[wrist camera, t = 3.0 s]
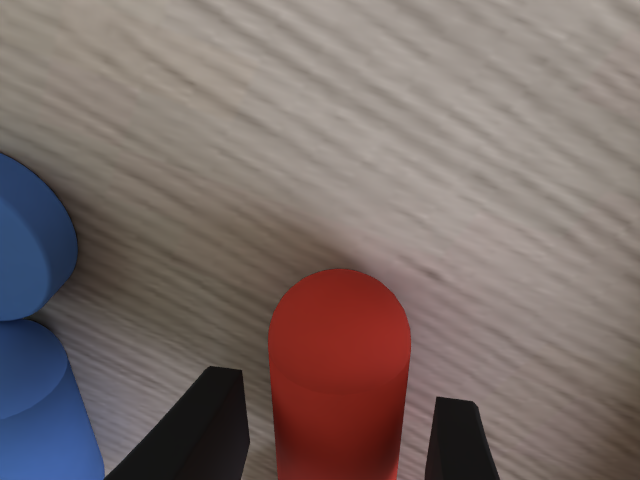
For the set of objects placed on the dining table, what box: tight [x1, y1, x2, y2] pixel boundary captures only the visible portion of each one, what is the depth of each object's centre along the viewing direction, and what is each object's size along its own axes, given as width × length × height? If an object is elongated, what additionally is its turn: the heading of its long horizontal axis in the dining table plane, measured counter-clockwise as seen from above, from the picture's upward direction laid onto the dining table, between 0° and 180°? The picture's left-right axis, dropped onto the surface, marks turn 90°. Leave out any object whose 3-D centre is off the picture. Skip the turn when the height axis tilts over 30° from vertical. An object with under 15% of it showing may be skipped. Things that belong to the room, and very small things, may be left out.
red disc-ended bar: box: [268, 269, 411, 480], centre depth 12 cm, size 10×3×2 cm, turn 0°
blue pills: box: [0, 153, 105, 480], centre depth 12 cm, size 10×3×2 cm, turn 0°
